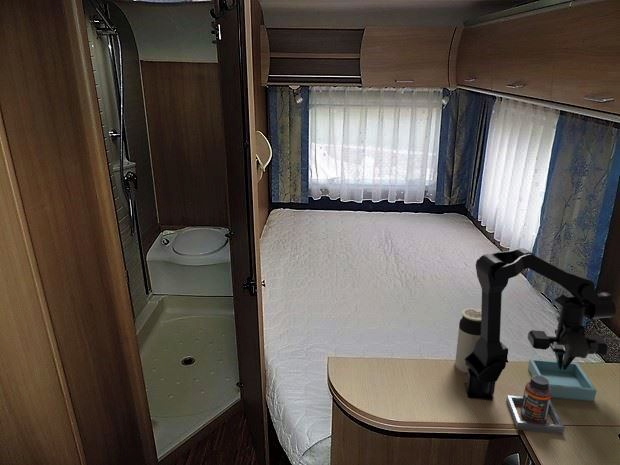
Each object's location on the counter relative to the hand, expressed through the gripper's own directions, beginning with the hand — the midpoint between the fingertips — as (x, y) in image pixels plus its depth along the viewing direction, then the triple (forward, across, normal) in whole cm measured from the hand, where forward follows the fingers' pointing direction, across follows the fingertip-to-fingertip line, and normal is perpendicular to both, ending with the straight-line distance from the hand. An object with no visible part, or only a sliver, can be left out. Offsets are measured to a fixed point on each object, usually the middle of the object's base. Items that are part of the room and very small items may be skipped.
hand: (561, 368), depth 125 cm
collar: (+6, -11, -15) cm, 19 cm away
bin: (+6, 0, 0) cm, 6 cm away
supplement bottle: (+6, -11, -15) cm, 19 cm away
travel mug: (+6, -24, +5) cm, 25 cm away
